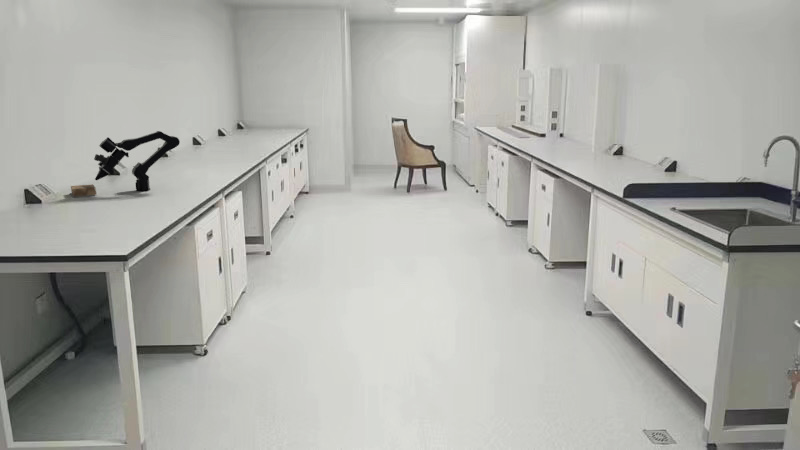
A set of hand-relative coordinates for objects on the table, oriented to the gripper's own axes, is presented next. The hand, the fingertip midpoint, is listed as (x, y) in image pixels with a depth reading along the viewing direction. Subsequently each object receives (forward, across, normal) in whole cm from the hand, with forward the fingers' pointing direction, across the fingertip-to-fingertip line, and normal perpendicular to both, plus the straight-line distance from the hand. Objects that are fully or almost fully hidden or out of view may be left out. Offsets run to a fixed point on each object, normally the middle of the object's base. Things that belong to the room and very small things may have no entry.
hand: (95, 179), depth 341 cm
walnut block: (+4, 0, +3) cm, 5 cm away
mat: (+11, 0, 0) cm, 11 cm away
